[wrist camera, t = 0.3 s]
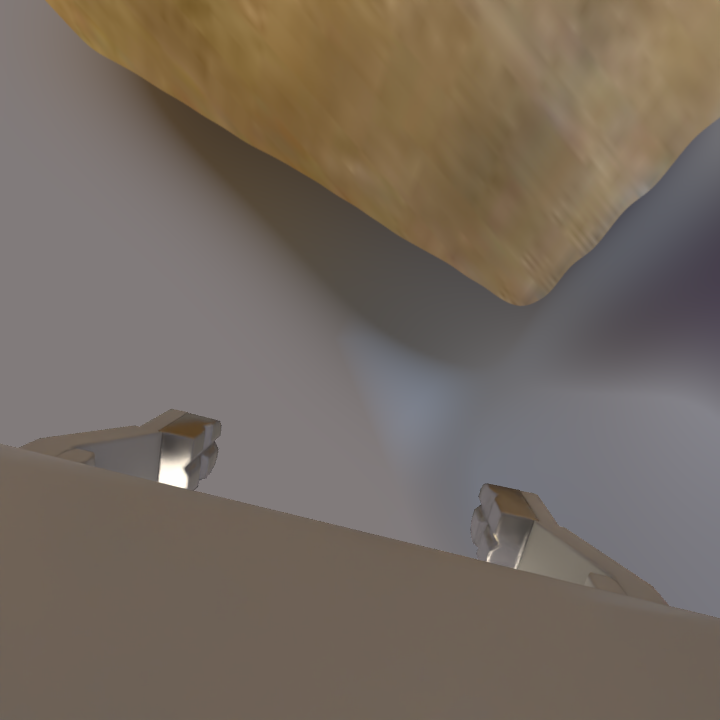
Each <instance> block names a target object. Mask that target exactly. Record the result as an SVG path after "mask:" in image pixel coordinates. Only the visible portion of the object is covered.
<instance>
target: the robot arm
mask: <svg viewBox="0 0 720 720" xmlns="http://www.w3.org/2000/svg"><path fill="white" fill-rule="evenodd" d="M220 434H221V423H220V421H218V420H214V419H210V418H206V417H202V416H198V415H195V414H191V413H188V412H183V411H179V410H174V409H170V410H168V411H167V412H165V413H163V414H161V415H159V416H158V417H156V418H154V419H152V420H151V421H149V422H147V423H145V424H144V425H142V426H140V427H138V426H128V427H120V428H113V429H105V430H98V431H91V432H84V433H76V434H68V435H61V436H53V437H47V438H40V439H37V440H35V441H33V442H30V443H29V444H26V445H24V446H21V447H19V448H16V447H12V446H8V445H3V444H0V720H720V618H716V617H713V616H708V615H704V614H700V613H696V612H692V611H688V610H684V609H680V608H675V607H671V606H669V605H668V604H667V603H666V601H665V600H664V599H663V598H662V597H661V596H660V594H659V593H658V592H657V591H656V590H655V589H654V587H653V586H651V585H650V584H648V583H647V582H645V581H643V580H642V579H640V578H639V577H638V576H636V575H635V574H633V573H632V572H630V571H629V570H627V569H626V568H624V567H623V566H621V565H620V564H618V563H617V562H615V561H614V560H612V559H611V558H609V557H608V556H606V555H605V554H603V553H602V552H600V551H599V550H597V549H596V548H594V547H593V546H591V545H590V544H588V543H587V542H585V541H584V540H582V539H581V538H579V537H578V536H576V535H575V534H573V533H572V532H570V531H569V530H567V529H566V528H564V527H560V526H559V525H558V524H557V522H556V521H555V520H554V518H553V517H552V515H551V514H550V512H549V511H548V509H547V508H546V506H545V505H544V504H543V502H542V501H541V499H540V498H539V496H538V495H536V494H534V493H529V492H523V491H520V490H516V489H511V488H507V487H502V486H497V485H492V484H484V485H483V486H482V488H481V490H480V494H479V499H480V502H481V505H480V506H479V507H477V508H476V509H475V510H474V513H473V516H472V520H471V537H472V541H473V543H474V544H475V545H476V546H477V547H478V550H477V557H478V560H477V559H473V558H469V557H465V556H461V555H456V554H453V553H449V552H444V551H440V550H436V549H432V548H428V547H424V546H419V545H415V544H411V543H407V542H403V541H399V540H395V539H391V538H387V537H382V536H379V535H374V534H370V533H366V532H362V531H357V530H353V529H350V528H346V527H342V526H337V525H333V524H329V523H325V522H321V521H317V520H313V519H309V518H304V517H300V516H296V515H292V514H288V513H284V512H280V511H276V510H271V509H267V508H263V507H259V506H255V505H251V504H247V503H242V502H239V501H234V500H230V499H226V498H222V497H218V496H214V495H210V494H206V493H202V492H197V491H194V490H195V489H196V488H197V487H198V483H199V480H202V479H205V478H207V476H208V475H209V474H210V473H211V471H212V469H213V467H214V465H215V463H216V459H217V455H218V447H217V445H216V443H215V440H216V439H217V438H218V437H219V436H220Z"/></svg>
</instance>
